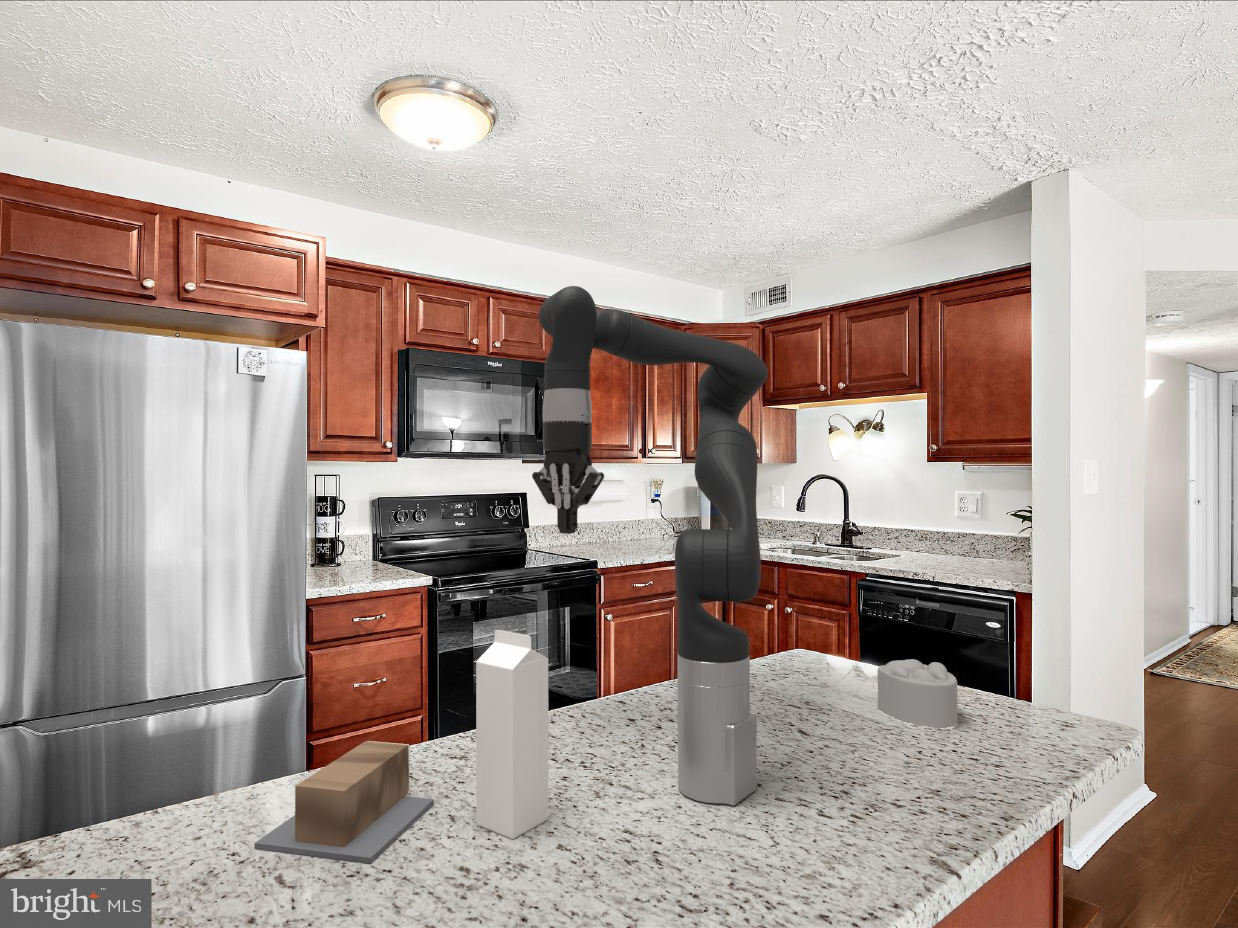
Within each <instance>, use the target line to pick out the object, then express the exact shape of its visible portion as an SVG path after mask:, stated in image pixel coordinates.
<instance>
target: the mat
mask: <svg viewBox="0 0 1238 928" xmlns="http://www.w3.org/2000/svg"><path fill="white" fill-rule="evenodd" d="M434 804H435V799H434V798H427V797H426V798H424V797H415V796H407V795H406V796H404V797H403V798H402V799H401V800H400V801H398V802H397V803H396V804H395V805H394V806H393V807H391V808H390V809H389V810H388V811H387V812H385V813H384V814H383V815H382V816H381V817H380V818H378V819H377V820H376V821H375V822H374V823H372V824H371V825H370V826H369V827H368V828H367V829H365V830H364V831H363V832H362V833H361V834H359V835H358V836H357V837H356V838H355V839H354V840H352V841H351V842H350V843H349V844H348V845H347V846H345V847H337V846H329V845H321V844H312V843H304V842H296V841H295V814H294V815H293V816H291V817H290V818H289V819H287V820H286V821H284V822H283V823H281V824H280V825H279V826H276V828H274V829H273V830H271V831H270V832H268V833H267V834H266V835H264V836H263V837H261V838H260V839H258V840H257V841H255V842H254V845H253V846H254V849H255V850H262V851H263V850H264V851H270V852H277V853H278V852H279V853H284V854H285V853H286V854H294V855H300V856H309V857H317V858H323V859H324V858H325V859H331V860H338V861H339V860H340V861H347V862H356V863H361V864H362V863H363V864H372V863H373V862H374V861H375V860H376V859H378V857H379V856H380V855H382V854H383V852H385V851H386V850H387V849H388V848H389V847H390V846H391V845H392V844H393V843H394V842H395V841H396V840H398V838H400V837H401V836H402V835H403V834H404V833H405V832H406V831H407V830H408V829H409V828H410V827H411V826H412V825H413V824H415V823H416V822H417V821H418V820H419V819H420V818H421V817H423V815H424V814H425V813H427V811H428V810H429V809H430V808H432V807H433V806H434Z"/></svg>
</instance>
